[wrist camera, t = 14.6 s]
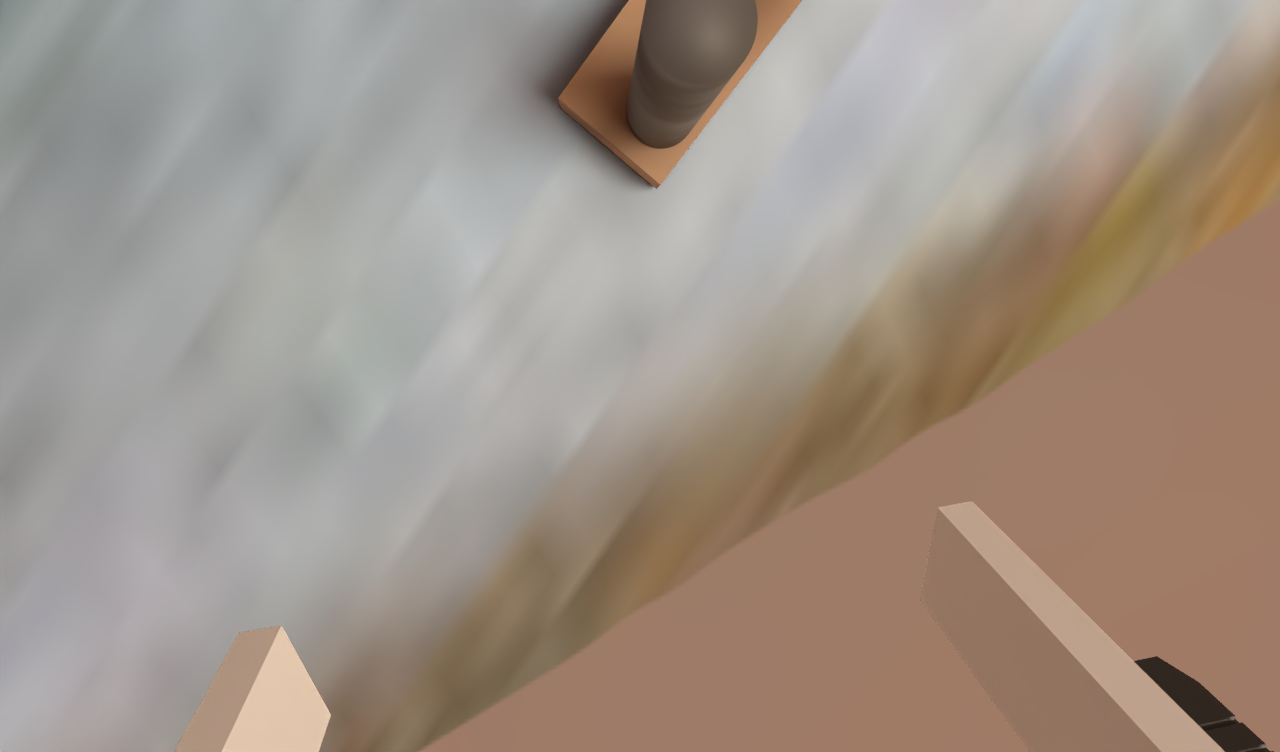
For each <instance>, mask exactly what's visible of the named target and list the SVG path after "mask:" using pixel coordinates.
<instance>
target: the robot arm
mask: <svg viewBox="0 0 1280 752" xmlns="http://www.w3.org/2000/svg"><path fill="white" fill-rule="evenodd" d="M920 601H921V602H922V604H923V605H924V607H925V608H926V609H927V611H928V612H929V614H930V615H931V616H932V618H933V619H934V620H935V622H936V623H937V625H938V626H939V627H940V629H941V630H942V632H943V633H944V634H945V635H946V637H947V639H948V640H949V641H950V643H951V644H952V645H953V647H954V648H955V650H956V651H957V652H958V654H959V655H960V656H961V658H962V659H963V661H964V662H965V664H966V665H967V666H968V668H969V669H970V670H971V672H972V673H973V675H974V676H975V677H976V678H977V680H978V682H979V683H980V684H981V686H982V687H983V688H984V690H985V691H986V692H987V694H988V695H989V697H990V698H991V700H992V701H993V702H994V704H995V705H996V707H997V708H998V709H999V711H1000V712H1001V713H1002V715H1003V716H1004V718H1005V719H1006V720H1007V722H1008V723H1009V725H1010V726H1011V727H1012V729H1013V730H1014V731H1015V733H1016V734H1017V736H1018V737H1019V738H1020V740H1021V741H1022V742H1023V744H1024V745H1025V747H1026V748H1027V749H1028V751H1029V752H1271V751H1269V750H1268V749H1267V748H1266V746H1265V743H1264V742H1263V741H1262V740H1261V739H1260V738H1258V737H1257V736H1256V735H1255V734H1254V733H1253V732H1252V731H1251V730H1250V729H1249V728H1248V727H1246V726H1245V725H1244V724H1243V723H1239V722H1238V721H1237V720H1236V719H1235V715H1233V714H1232V713H1231V712H1230V711H1229V710H1228V709H1227V708H1226V707H1225V706H1224V705H1223V704H1222V703H1220V701H1218V700H1217V699H1216V698H1215V697H1214V696H1213V695H1212V694H1211V693H1210V692H1209V691H1208V690H1206V689H1205V688H1204V687H1203V686H1202V685H1201V684H1200V683H1199V682H1197V681H1196V680H1194V679H1193V678H1191V677H1189V676H1188V675H1186V674H1184V673H1183V672H1181V671H1180V670H1178V669H1176V668H1175V667H1173V666H1171V665H1170V664H1168V663H1167V662H1165V661H1163V660H1162V659H1160V658H1159V657H1152V658H1147V659H1142V660H1138V661H1133V660H1132V659H1131V658H1130V657H1129V656H1128V655H1127V654H1126V653H1125V652H1124V651H1123V650H1122V649H1121V648H1119V646H1118V645H1117V644H1116V643H1115V642H1114V641H1113V640H1112V639H1110V637H1109V636H1108V635H1107V634H1106V633H1105V632H1104V631H1102V629H1101V628H1099V626H1098V625H1097V624H1095V623H1094V622H1093V621H1092V620H1091V619H1090V618H1089V617H1088V616H1087V615H1086V614H1085V613H1084V612H1083V611H1082V610H1081V609H1080V608H1079V607H1078V606H1077V605H1076V604H1075V603H1074V602H1073V601H1072V600H1071V599H1070V598H1069V597H1068V596H1067V595H1066V594H1065V593H1064V592H1063V591H1062V590H1061V589H1060V588H1059V587H1058V586H1057V585H1056V584H1055V583H1054V582H1053V581H1052V580H1051V579H1050V578H1049V577H1048V576H1047V575H1046V574H1045V573H1044V572H1043V571H1042V570H1041V569H1040V568H1039V567H1038V566H1037V565H1036V564H1035V563H1034V562H1033V561H1032V560H1031V559H1030V558H1029V557H1028V556H1027V555H1026V554H1025V553H1024V552H1023V551H1022V550H1021V549H1020V548H1019V547H1018V546H1017V545H1016V544H1015V543H1014V542H1013V541H1012V540H1010V538H1009V537H1008V536H1007V535H1005V534H1004V533H1003V532H1002V530H1000V528H999V527H997V526H996V525H995V524H994V523H993V522H992V521H991V520H990V519H989V518H988V517H987V516H986V515H985V514H984V513H983V512H982V511H981V510H980V509H979V508H978V507H977V506H976V505H975V504H974V503H973V502H972V501H971V502H966V503H960V504H954V505H949V506H944V507H938V508H937V513H936V519H935V524H934V530H933V535H932V540H931V545H930V550H929V556H928V562H927V566H926V572H925V577H924V582H923V588H922V593H921V598H920ZM330 716H331V714H330V713H329V711H328V709H327V707H326V705H325V704H324V702H323V700H322V698H321V696H320V694H319V693H318V691H317V689H316V687H315V685H314V684H313V682H312V680H311V678H310V676H309V675H308V673H307V671H306V669H305V667H304V666H303V664H302V662H301V660H300V658H299V657H298V655H297V653H296V651H295V649H294V648H293V646H292V644H291V642H290V640H289V638H288V637H287V635H286V633H285V631H284V629H283V628H282V626H275V627H270V628H264V629H259V630H253V631H248V632H242V633H238V635H237V637H236V639H235V641H234V643H233V644H232V646H231V648H230V650H229V652H228V654H227V656H226V657H225V659H224V661H223V663H222V665H221V667H220V668H219V670H218V672H217V674H216V676H215V678H214V679H213V681H212V683H211V685H210V687H209V689H208V691H207V692H206V694H205V696H204V698H203V700H202V702H201V703H200V705H199V707H198V709H197V711H196V713H195V714H194V716H193V718H192V720H191V722H190V724H189V725H188V727H187V729H186V731H185V733H184V735H183V737H182V738H181V740H180V742H179V744H178V746H177V748H176V749H175V751H174V752H319V749H320V746H321V743H322V740H323V737H324V734H325V731H326V728H327V725H328V722H329V719H330ZM1272 752H1274V751H1272Z"/></svg>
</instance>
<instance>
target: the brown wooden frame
mask: <svg viewBox="0 0 1280 752" xmlns="http://www.w3.org/2000/svg"><path fill="white" fill-rule="evenodd" d="M801 1H802V0H629V1H628V2H627V4H626V5H625V6H624V8H623V9H622V10H621V12H620V13H619V15H618V16H617V17H616V19H615V20H614V21H613V23H612V24H611V26H610V27H609V28H608V30H607V31H606V32H605V34H604V35H603V37H602V38H601V39H600V41H599V42H598V44H597V45H596V46H595V48H594V49H593V50H592V52H591V53H590V55H589V56H588V57H587V59H586V60H585V61H584V63H583V64H582V66H581V67H580V68H579V70H578V71H577V72H576V74H575V75H574V77H573V78H572V79H571V81H570V82H569V84H568V85H567V86H566V88H565V89H564V90H563V92H562V93H561V95H560V96H559V97H558V99H559V103H560V107H561V109H562V110H564V111H565V112H566V113H567V114H568V115H570V116H571V117H572V118H573V119H574V120H575V121H577V122H578V123H579V124H580V125H581V126H583V127H584V128H585V129H586V130H587V131H588V132H590V133H591V134H592V135H593V136H594V137H596V138H597V139H598V140H599V141H600V142H601V143H603V144H604V145H605V146H606V147H607V148H609V149H610V150H611V151H612V152H613V153H614V154H616V155H617V156H618V157H619V158H620V159H622V160H623V161H624V162H625V163H626V164H627V165H629V166H630V167H631V168H632V169H633V170H635V171H636V172H637V173H638V174H639V175H640V176H642V177H643V178H644V179H645V180H646V181H648V182H649V183H650V184H651V185H652V186H654V187H655V188H656V189H657V188H658V187H659V186H660V185H661V183H662V182H663V181H664V179H665V178H666V177H667V175H668V174H669V173H670V172H671V170H672V169H673V168H674V166H675V165H676V164H677V162H678V161H679V160H680V159H681V157H682V156H683V155H684V153H685V152H686V151H687V149H688V148H689V147H690V146H691V144H692V143H693V142H694V140H695V139H696V138H697V136H698V135H699V134H700V133H701V131H702V130H703V129H704V127H705V126H706V125H707V123H708V122H709V121H710V119H711V118H712V117H713V116H714V114H715V113H716V112H717V110H718V109H719V108H720V106H721V105H722V104H723V103H724V101H725V100H726V99H727V97H728V96H729V95H730V93H731V92H732V91H733V90H734V88H735V87H736V86H737V84H738V83H739V82H740V80H741V79H742V78H743V77H744V75H745V74H746V73H747V71H748V70H749V69H750V67H751V66H752V65H753V64H754V62H755V61H756V60H757V58H758V57H759V56H760V54H761V53H762V52H763V50H764V49H765V48H766V47H767V45H768V44H769V43H770V41H771V40H772V39H773V37H774V36H775V35H776V34H777V32H778V31H779V30H780V28H781V27H782V26H783V24H784V23H785V22H786V21H787V19H788V18H789V17H790V15H791V14H792V13H793V11H794V10H795V9H796V8H797V6H798V5H799V4H800V2H801Z"/></svg>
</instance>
